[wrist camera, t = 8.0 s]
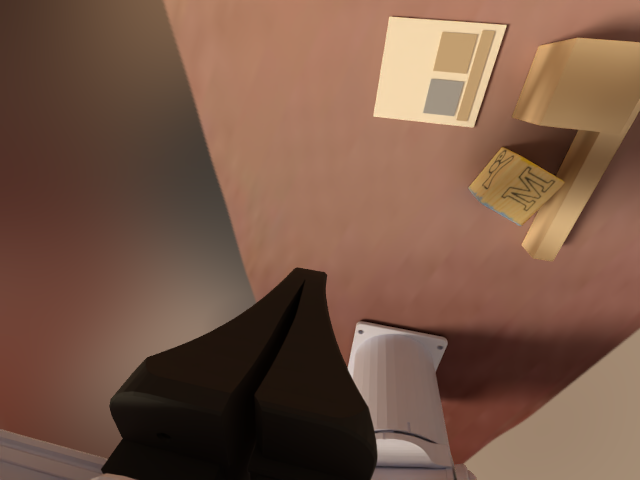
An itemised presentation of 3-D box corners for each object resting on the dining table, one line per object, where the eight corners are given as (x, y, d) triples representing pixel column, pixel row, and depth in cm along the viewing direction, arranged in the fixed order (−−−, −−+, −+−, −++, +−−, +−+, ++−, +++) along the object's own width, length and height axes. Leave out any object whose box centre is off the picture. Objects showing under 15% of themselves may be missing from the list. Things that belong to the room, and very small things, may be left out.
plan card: (472, 127, 18) (474, 127, 17) (373, 116, 18) (373, 116, 18) (505, 25, 15) (507, 24, 15) (389, 17, 16) (389, 16, 16)
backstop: (539, 247, 20) (552, 261, 19) (521, 244, 21) (533, 258, 19) (643, 54, 15) (673, 51, 13) (616, 52, 15) (644, 48, 13)
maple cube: (576, 124, 17) (619, 134, 14) (511, 117, 17) (540, 125, 14) (611, 51, 15) (670, 44, 12) (538, 45, 15) (577, 37, 12)
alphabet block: (465, 186, 19) (479, 203, 17) (500, 144, 18) (521, 155, 15) (503, 208, 20) (522, 228, 17) (541, 168, 18) (569, 183, 16)
